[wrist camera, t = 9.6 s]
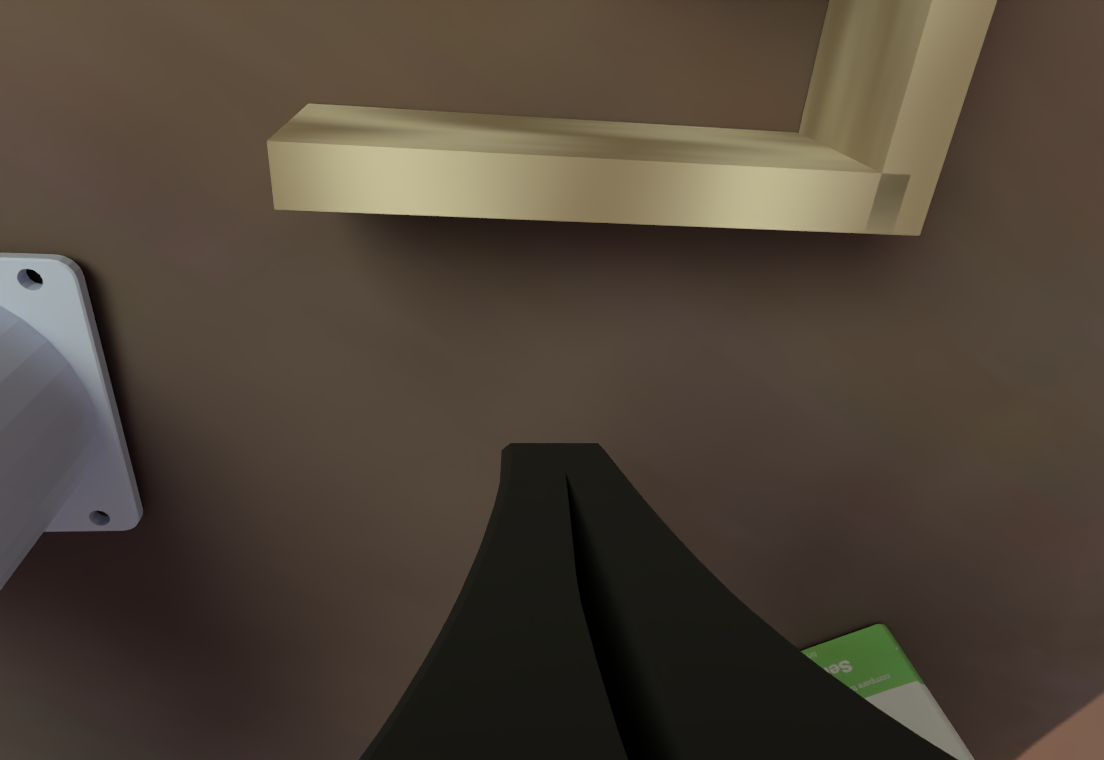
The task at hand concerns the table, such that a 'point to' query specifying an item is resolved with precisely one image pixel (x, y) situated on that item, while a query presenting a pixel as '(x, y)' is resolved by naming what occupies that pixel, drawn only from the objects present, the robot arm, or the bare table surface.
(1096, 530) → the table surface
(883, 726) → the robot arm
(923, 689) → the ink box
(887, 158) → the beige piece
